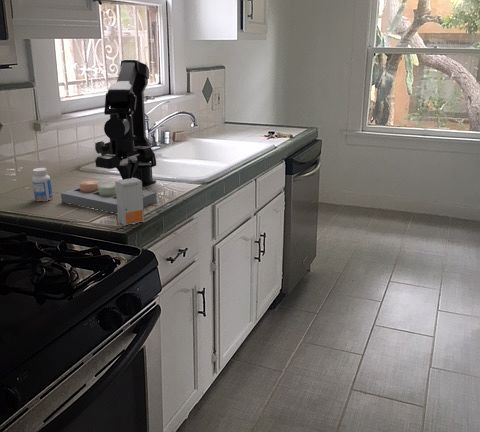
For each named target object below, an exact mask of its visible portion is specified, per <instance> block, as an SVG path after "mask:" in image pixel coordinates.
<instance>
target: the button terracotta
mask: <svg viewBox="0 0 480 432" xmlns="http://www.w3.org/2000/svg"><path fill="white" fill-rule="evenodd" d="M98 182H99V181H96V180H84V181H81V182H80V183H79V187H80V192H84V193H89V194H90V193H93V192H96V191H99V189H98Z"/></svg>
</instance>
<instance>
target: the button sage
mask: <svg viewBox="0 0 480 432" xmlns="http://www.w3.org/2000/svg"><path fill="white" fill-rule="evenodd" d="M98 189H99V196H104V197H111V196H114V195H116V183H115V184H114V183H106V184H105V185H101V186H99V187H98Z"/></svg>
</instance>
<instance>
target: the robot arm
mask: <svg viewBox="0 0 480 432" xmlns="http://www.w3.org/2000/svg"><path fill="white" fill-rule="evenodd" d="M119 69H120V70H119V73H118V76H117V80H116V82H115V83H113V84H111V85H110V86H109V87H108V90H107V92H106V93H105V99H104V101H105V102H104V113H103V114H104V116H105V115H107V116H108V115H109V119H107V121H106V122H104V127H103V131H104V133H105V135H106V136H107V137H108V138H109V141H108V142H104V141H103V140H100V141H97V142H95V144H94V147H95V148H94V149H95V152H96V153H97V154H101V155H100V156H96V158H95V160H94V161H95V167H96V168H101V169H108V170H112V169H117V172H119V175H120V177H121V180H124V179H131V178H137V179H139V180H141V181H142V187H146V186H149V185H152V184H154V183H156V182H157V180H155V179H153V168H155V167H156V166H157V158H156V153H154V149H153V148H152V142H151V141H150V140H149V138H148V137H147V133H146V132H147V131H146V129H147V128H146V118H145V117H146V114H145V112H146V111H145V96H144V92H145V90H146V89H147V86H148V84H149V81H148V80H149V79H150V69H149V67H148V65H147V64H146V63H143V62H140V60H139V59H135V58H124V59H122V60H120V65H119Z"/></svg>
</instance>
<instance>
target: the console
mask: <svg viewBox="0 0 480 432" xmlns="http://www.w3.org/2000/svg"><path fill="white" fill-rule="evenodd" d="M97 182H98V187H99V186H101V185H105V184H107V182H106V183H105V182H100V181H97ZM142 193H143V208H145V207H147V206H146V205H148V206H149V204H150V205H152V204H151V203H153V204H155V203H157V192H155V191H149V190H144V189H142ZM60 199H61V203H62V202H65V203H64V204H66V203H71V204H75V205H74V206H76V205H80V206H84V207H83V208H85V207H89V208H88V209H90V208H94V209H98V210H97V211H99V210H103V211H102V212H104V211H107V212H106V213H108V212H113V213H118V210H117V196H116V195H114V196H111V197H104V196H99V191H96V192H93V193H90V194H89V193H84V192H80V186H78V187H76V188H73V189H70V190H67V191H64V192H60ZM154 202H155V203H154ZM71 204H70V205H71ZM80 206H79V207H80ZM144 206H145V207H144ZM94 209H93V210H94ZM113 213H112V214H113Z"/></svg>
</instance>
